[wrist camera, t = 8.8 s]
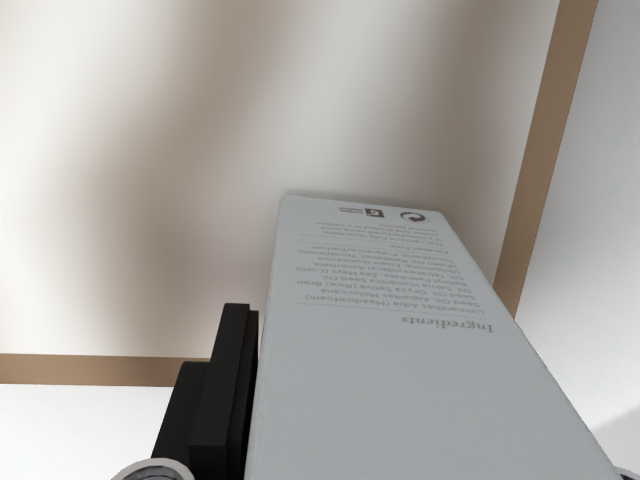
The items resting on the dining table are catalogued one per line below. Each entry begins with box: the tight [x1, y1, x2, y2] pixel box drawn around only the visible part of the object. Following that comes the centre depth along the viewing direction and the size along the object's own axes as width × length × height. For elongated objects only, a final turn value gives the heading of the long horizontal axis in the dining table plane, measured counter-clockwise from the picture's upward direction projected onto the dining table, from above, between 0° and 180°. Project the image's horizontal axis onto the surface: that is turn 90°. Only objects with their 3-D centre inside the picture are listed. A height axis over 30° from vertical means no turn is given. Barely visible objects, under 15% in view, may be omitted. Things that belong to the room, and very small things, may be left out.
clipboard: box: [0, 0, 598, 387], centre depth 12 cm, size 20×15×2 cm
